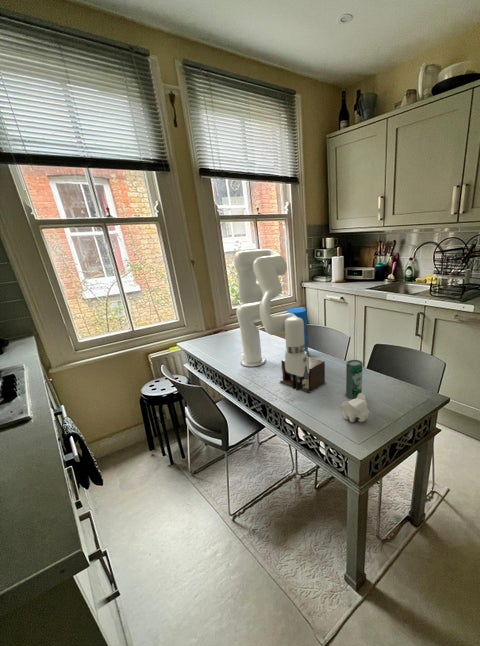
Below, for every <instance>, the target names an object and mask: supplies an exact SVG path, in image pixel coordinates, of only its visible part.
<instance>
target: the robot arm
mask: <svg viewBox="0 0 480 646" xmlns="http://www.w3.org/2000/svg"><path fill="white" fill-rule="evenodd" d="M233 258H234V259H233V261H234V262H233V264H234V267H235V270H236V273H237V284H238V287H237V288H238V298H239V301H240V302H241V303H243V304H242V305H240V306H238V307H237V308H236V311H235V312H236V313H235V314H236V318H237V321H238V325H239V331H240V339H241V343H242V344H241V347H242V352H241V354H240V357H242V360H241V365H242V366H244V367H250V368H251V367H252V368H253V367H258V366H261V365H263V364H264V363H265V362H266V358H265V357H263V355H262V345H261V337H260V330H259V328H258V327H257V326H256V325H255V324H254V323H258V322H261V323H262V327H263V328H264V330H265V332H266V333H267V334H268V335H270V336H276V335H280V334H284V336H285V353H284V359H285V370H286V373H287V374H289V376H290V377H291V380H292V385H293V387H292V390H296V387H297V390H298V391H301V390H300V389H302V388H303V387H302V380H304V379H308V378H309V376H308V373H309V361H308V357H309V355H308V354H307V352H306V348H305V343H304V322H303V319H301V318H299V317H297V316H296V315H294V314H293V313H287V312H286V313H282V314H275V315H271V311H272V310H271V307H272V305H271V304H272V300H274V299H275V298H277V297H278V296H280V295H281V293H282V292H283V286H282V283H281V281H280V278H279V276H284V275H286V273H287V270H288V266H287V262H286V260H285V258H284V257H283V255H281V254H280V253H278V252H276V251H274V250H273V249H269V248H262V249H247V250H240V251H237V252H236V253H235V255H234V257H233ZM296 376H297V382H296V379H295V377H296ZM300 377H301V378H300ZM297 390H296V391H297Z"/></svg>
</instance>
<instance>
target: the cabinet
mask: <svg viewBox="0 0 480 646" xmlns="http://www.w3.org/2000/svg"><path fill="white" fill-rule="evenodd" d="M308 361H309V373H308V376H309V389H306V388H302V389H300V390H299V391H302V392H305V393H307V394H311V393H312V392H314V391H315V390H317V389H318V388H320V387H322V386H323V385H325V384H326V361H325V360H321V359H318V358H313V357H310V356H308ZM281 372H282V373H281V375H282V379H280V380H279V381H280V384H281V385H285V386H287V387H290V388H293V385H292V380H291V377H290V376H289V374H287V373H286V370H285V358H283V359H281Z"/></svg>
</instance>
